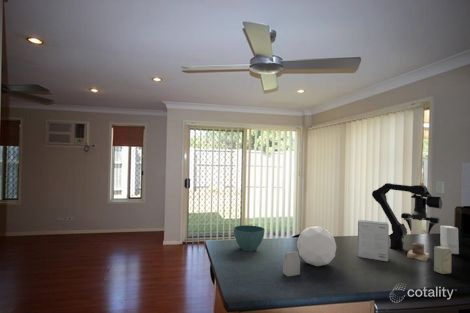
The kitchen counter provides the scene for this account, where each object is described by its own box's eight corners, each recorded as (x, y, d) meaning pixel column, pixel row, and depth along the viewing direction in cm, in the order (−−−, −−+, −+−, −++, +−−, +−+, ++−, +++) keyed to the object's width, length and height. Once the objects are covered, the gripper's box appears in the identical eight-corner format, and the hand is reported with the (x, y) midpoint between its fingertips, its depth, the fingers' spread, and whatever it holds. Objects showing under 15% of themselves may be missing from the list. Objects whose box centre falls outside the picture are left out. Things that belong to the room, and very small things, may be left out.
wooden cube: (412, 252, 160) (412, 244, 160) (413, 251, 164) (413, 242, 164) (422, 255, 157) (422, 246, 157) (424, 253, 161) (424, 244, 161)
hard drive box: (387, 257, 157) (388, 222, 158) (388, 262, 150) (389, 224, 151) (357, 253, 164) (358, 219, 165) (357, 256, 157) (357, 221, 158)
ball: (304, 276, 144) (284, 240, 152) (333, 258, 151) (312, 225, 159) (321, 270, 128) (297, 230, 136) (352, 251, 135) (327, 214, 143)
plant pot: (228, 251, 159) (228, 229, 159) (239, 243, 176) (240, 223, 176) (258, 256, 152) (259, 233, 153) (267, 247, 169) (268, 227, 169)
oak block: (407, 258, 160) (407, 252, 160) (410, 254, 166) (410, 249, 167) (426, 262, 154) (426, 256, 154) (428, 258, 161) (428, 253, 161)
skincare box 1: (459, 254, 168) (459, 228, 169) (446, 253, 170) (446, 227, 170) (451, 250, 176) (451, 225, 177) (439, 249, 178) (439, 224, 178)
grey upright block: (299, 274, 129) (300, 252, 129) (287, 276, 126) (288, 254, 126) (294, 271, 132) (295, 250, 132) (282, 273, 129) (283, 251, 130)
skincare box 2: (442, 274, 135) (442, 248, 135) (433, 270, 139) (433, 246, 140) (451, 273, 137) (452, 248, 137) (442, 269, 141) (443, 245, 141)
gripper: (398, 205, 168) (398, 231, 168) (436, 209, 155) (435, 238, 154) (404, 203, 176) (403, 228, 175) (440, 208, 162) (439, 234, 162)
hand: (419, 232), depth 167 cm, fingers open, 9 cm apart
